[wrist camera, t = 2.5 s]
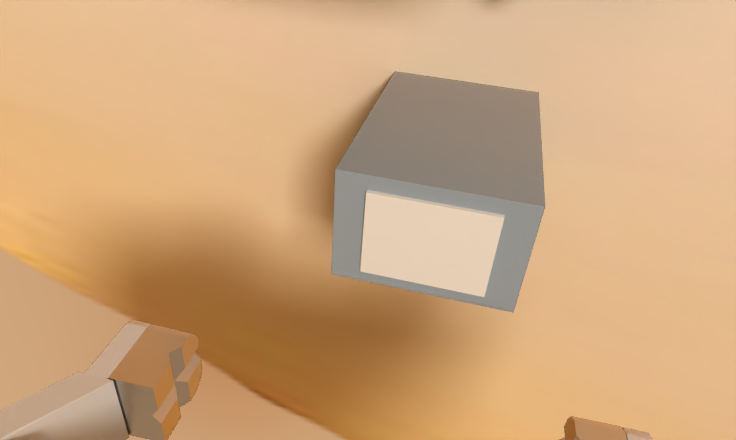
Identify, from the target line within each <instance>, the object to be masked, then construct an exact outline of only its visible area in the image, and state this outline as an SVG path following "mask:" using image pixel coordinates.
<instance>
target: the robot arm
mask: <svg viewBox="0 0 736 440" xmlns="http://www.w3.org/2000/svg"><path fill="white" fill-rule="evenodd" d="M198 347H199V342H198V337H197V335H194V334H191V333H187V332H183V331H179V330H175V329H171V328H167V327H162V326H158V325H154V324H150V323H146V322H141V321H137V320H131V321H130V322H128V323H126V324H125V325H124V326H123V328H122V329H121V330H120V331H119V332H118V334H117V335H116V336H115V337H114V339H113V340H112V341H111V342H110V343H109V344H108V345H107V347H106V348H105V349H104V350H103V351H102V353H101V354H100V355H99V356H98V357H97V359H96V360H95V361H94V362H93V363H92V365H91V366H90V367H89V368H88V369H87V370H86V372H85V373H80V372H77V373H75V374H73V375H71V376H69V377H67V378H65V379H63V380H61V381H59V382H57V383H55V384H53V385H50V386H48V387H46V388H44V389H42V390H40V391H38V392H36V393H34V394H32V395H30V396H28V397H26V398H24V399H22V400H20V401H18V402H15V403H13V404H11V405H10V406H7V407H5V408H3V409H1V410H0V440H126V439H128V438H129V435H132V436H136V437H141V438H145V439H150V440H168V438H169V436H170V435H171V433H172V431H173V430H174V428H175V426H176V425H177V423H178V421H179V420H180V418H181V414H180V408H179V407H181V406H182V405H184V404H186V403H187V402H189V401H191V399H192V397H193V396H194V394H195V392H196V391H197V388H198V385H199V382H200V379H201V374H202V362H201V359H200V358H199V356H198V355H197V354H196V353H195V352H196V350H197V349H198ZM564 433H565V437H564V438H562V439H560V440H653V438H652V437H651V435H650V434H649V433H646V432H642V431H637V430H633V429H628V428H624V427H620V426H617V425H612V424H607V423H602V422H597V421H592V420H587V419H583V418H578V417H573V416H571V417H570V418H568V419H567V421H566V424H565V426H564Z"/></svg>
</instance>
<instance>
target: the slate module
mask: <svg viewBox="0 0 736 440" xmlns="http://www.w3.org/2000/svg"><path fill="white" fill-rule="evenodd" d="M544 209H545V194H544V177H543V160H542V142H541V125H540V107H539V92H532V91H525V90H518V89H512V88H505V87H498V86H491V85H484V84H478V83H471V82H464V81H457V80H450V79H444V78H437V77H430V76H423V75H416V74H410V73H403V72H396V71H395V72H394V74H393V76H392V77H391V79H390V80H389V82H388V84H387V85H386V87H385V89H384V90H383V92H382V94H381V95H380V97H379V98H378V100H377V102H376V103H375V105H374V107H373V108H372V110H371V112H370V113H369V115H368V116H367V118H366V120H365V121H364V123H363V125H362V126H361V128H360V130H359V131H358V133H357V134H356V136H355V138H354V139H353V141H352V143H351V144H350V146H349V148H348V149H347V151H346V152H345V154H344V156H343V157H342V159H341V161H340V162H339V164H338V166H337V167H336V169H335V189H334V216H333V244H332V271H331V274H333V275H338V276H343V277H348V278H352V279H357V280H362V281H367V282H371V283H376V284H381V285H386V286H390V287H395V288H400V289H405V290H409V291H414V292H419V293H424V294H428V295H433V296H438V297H443V298H447V299H452V300H457V301H461V302H466V303H471V304H476V305H480V306H485V307H490V308H495V309H499V310H504V311H509V312H514V309H515V306H516V302H517V299H518V296H519V292H520V289H521V286H522V282H523V279H524V276H525V272H526V269H527V266H528V262H529V259H530V256H531V252H532V249H533V246H534V242H535V239H536V236H537V232H538V229H539V226H540V222H541V219H542V216H543V212H544Z"/></svg>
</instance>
